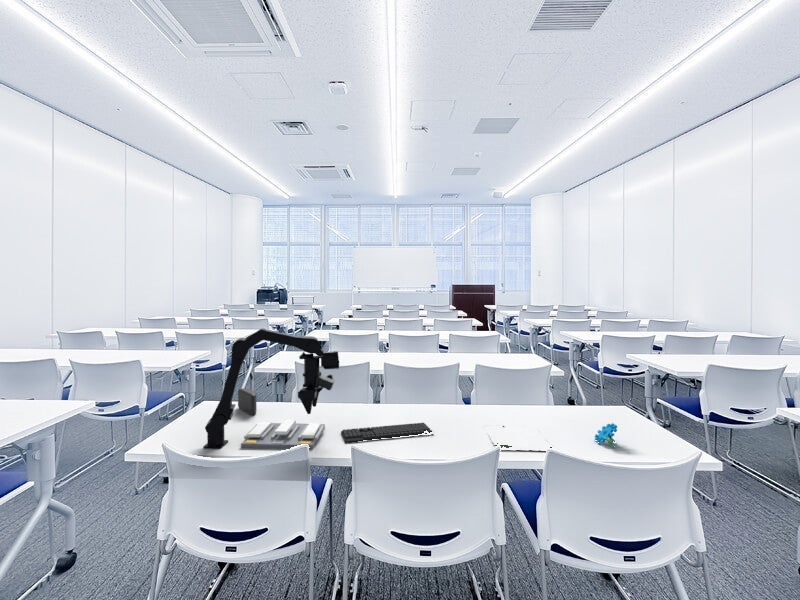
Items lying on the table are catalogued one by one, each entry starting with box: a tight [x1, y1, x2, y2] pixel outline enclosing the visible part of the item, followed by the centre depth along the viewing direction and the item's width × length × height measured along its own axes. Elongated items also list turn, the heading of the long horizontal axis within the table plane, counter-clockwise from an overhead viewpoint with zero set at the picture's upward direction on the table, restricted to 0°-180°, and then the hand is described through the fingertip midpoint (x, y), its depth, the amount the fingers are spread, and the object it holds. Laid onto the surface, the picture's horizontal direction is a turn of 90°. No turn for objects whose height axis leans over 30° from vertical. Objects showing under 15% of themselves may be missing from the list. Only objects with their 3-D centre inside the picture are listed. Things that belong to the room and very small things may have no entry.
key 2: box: [302, 422, 322, 438], centre depth 161 cm, size 13×4×1 cm, turn 179°
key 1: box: [247, 421, 272, 437], centre depth 161 cm, size 13×4×1 cm, turn 179°
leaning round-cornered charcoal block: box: [237, 387, 258, 416], centre depth 192 cm, size 16×5×9 cm, turn 43°
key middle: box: [275, 419, 297, 435], centre depth 161 cm, size 13×4×1 cm, turn 179°
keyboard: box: [340, 422, 433, 444], centre depth 166 cm, size 35×11×2 cm, turn 106°
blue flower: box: [594, 422, 618, 447], centre depth 159 cm, size 11×6×10 cm
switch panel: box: [240, 422, 326, 450], centre depth 161 cm, size 22×27×2 cm
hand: (311, 410), depth 161 cm, fingers open, 9 cm apart
